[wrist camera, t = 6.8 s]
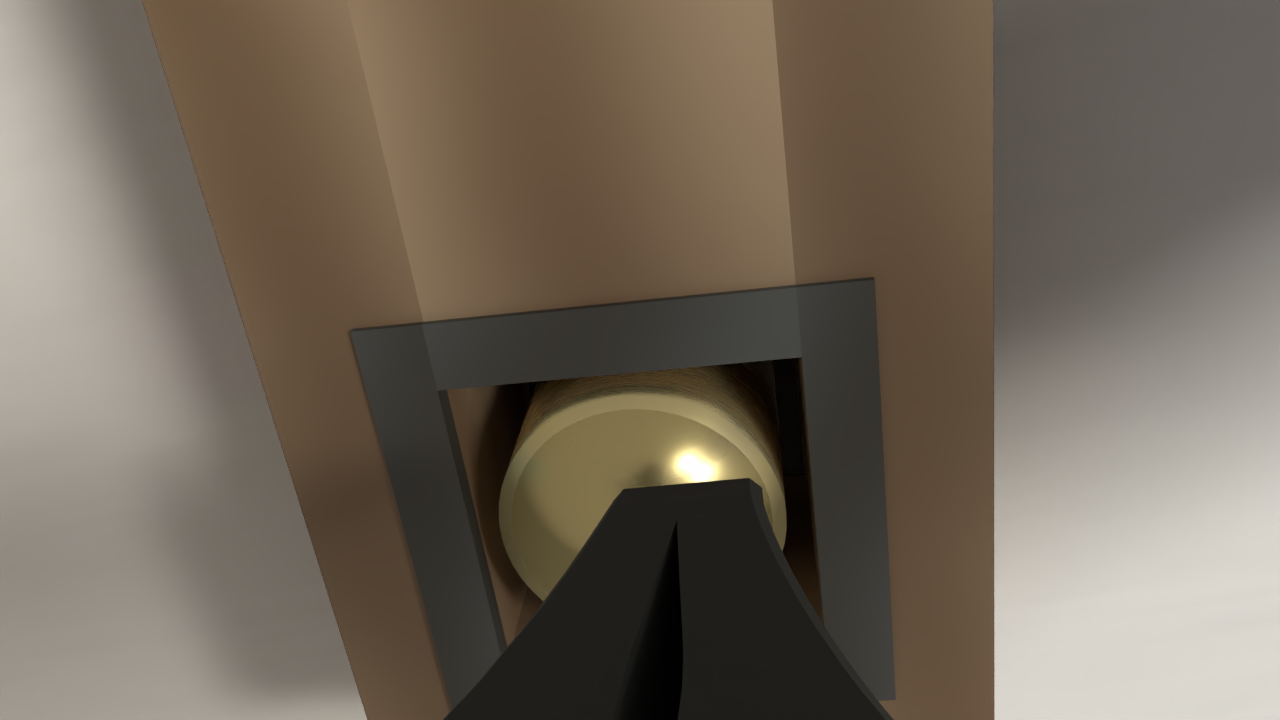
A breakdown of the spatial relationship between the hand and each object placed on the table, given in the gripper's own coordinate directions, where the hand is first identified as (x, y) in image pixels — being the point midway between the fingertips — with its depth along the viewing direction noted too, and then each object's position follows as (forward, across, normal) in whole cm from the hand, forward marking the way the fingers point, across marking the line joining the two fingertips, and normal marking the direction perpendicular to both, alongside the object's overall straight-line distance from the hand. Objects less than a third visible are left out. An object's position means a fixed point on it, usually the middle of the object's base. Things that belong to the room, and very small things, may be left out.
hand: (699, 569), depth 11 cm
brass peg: (+10, +1, +2) cm, 10 cm away
